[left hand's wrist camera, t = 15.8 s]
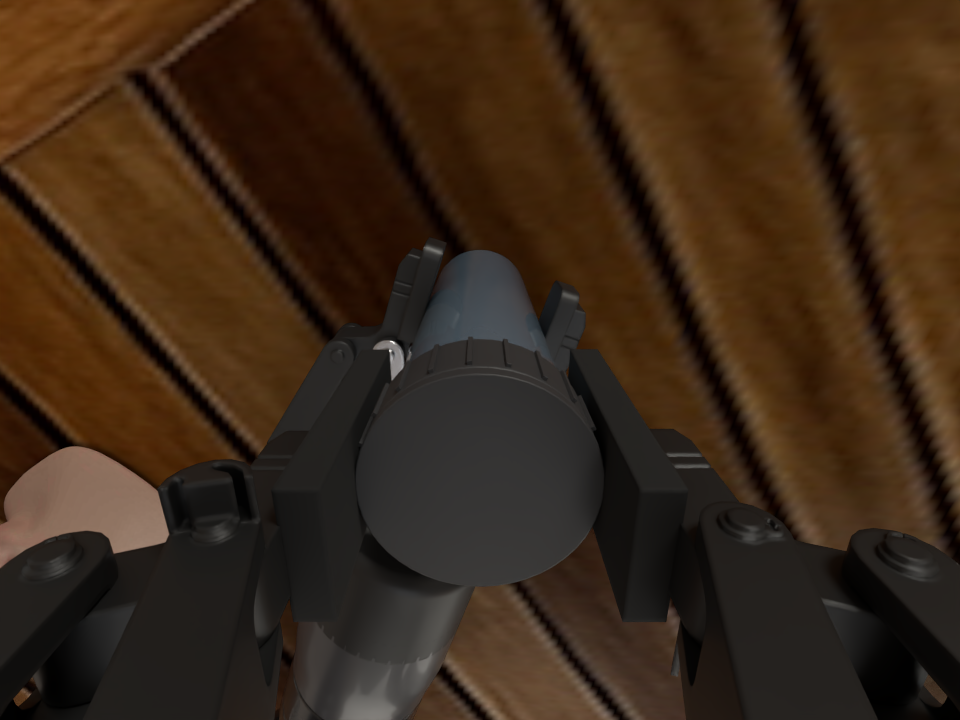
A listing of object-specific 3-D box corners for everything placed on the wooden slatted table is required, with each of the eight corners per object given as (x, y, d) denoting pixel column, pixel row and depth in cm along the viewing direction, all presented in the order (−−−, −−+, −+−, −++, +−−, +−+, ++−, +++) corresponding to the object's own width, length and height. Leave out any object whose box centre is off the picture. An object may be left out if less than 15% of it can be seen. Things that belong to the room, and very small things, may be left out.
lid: (536, 549, 13) (546, 616, 11) (346, 489, 13) (321, 549, 11) (625, 381, 12) (655, 424, 10) (411, 301, 11) (396, 331, 9)
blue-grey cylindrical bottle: (428, 328, 26) (360, 539, 11) (443, 241, 25) (388, 351, 10) (513, 345, 27) (556, 570, 12) (534, 260, 25) (614, 394, 10)
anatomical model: (-39, 459, 24) (193, 555, 26) (30, 420, 28) (229, 507, 30) (-83, 637, 28) (121, 708, 30) (-18, 583, 32) (160, 650, 34)
